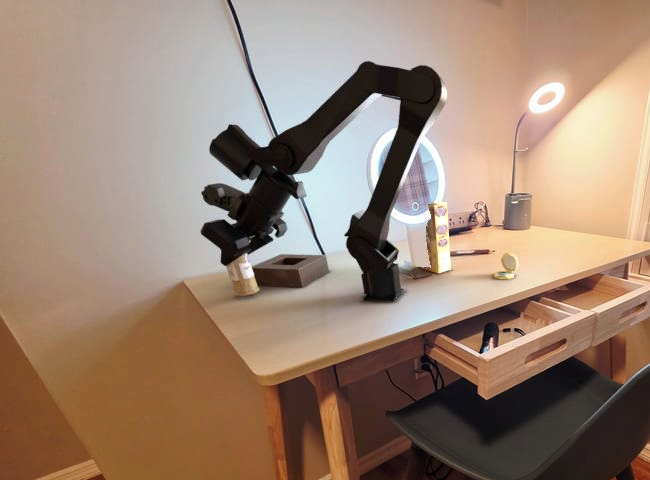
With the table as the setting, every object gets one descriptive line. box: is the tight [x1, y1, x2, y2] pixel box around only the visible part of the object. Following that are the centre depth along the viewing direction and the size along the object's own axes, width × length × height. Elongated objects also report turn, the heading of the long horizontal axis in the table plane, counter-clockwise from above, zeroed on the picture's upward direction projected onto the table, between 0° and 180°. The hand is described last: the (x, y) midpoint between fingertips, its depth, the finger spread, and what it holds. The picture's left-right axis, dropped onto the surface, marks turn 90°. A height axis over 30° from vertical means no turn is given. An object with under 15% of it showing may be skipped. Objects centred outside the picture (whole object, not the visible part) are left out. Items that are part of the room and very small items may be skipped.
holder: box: [251, 253, 330, 288], centre depth 86 cm, size 12×12×4 cm
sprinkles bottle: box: [219, 248, 260, 297], centre depth 74 cm, size 5×5×14 cm
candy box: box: [422, 201, 451, 274], centre depth 88 cm, size 9×4×15 cm, turn 44°
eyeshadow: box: [493, 252, 519, 280], centre depth 84 cm, size 4×5×5 cm
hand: (230, 261), depth 74 cm, fingers closed on sprinkles bottle, 4 cm apart
